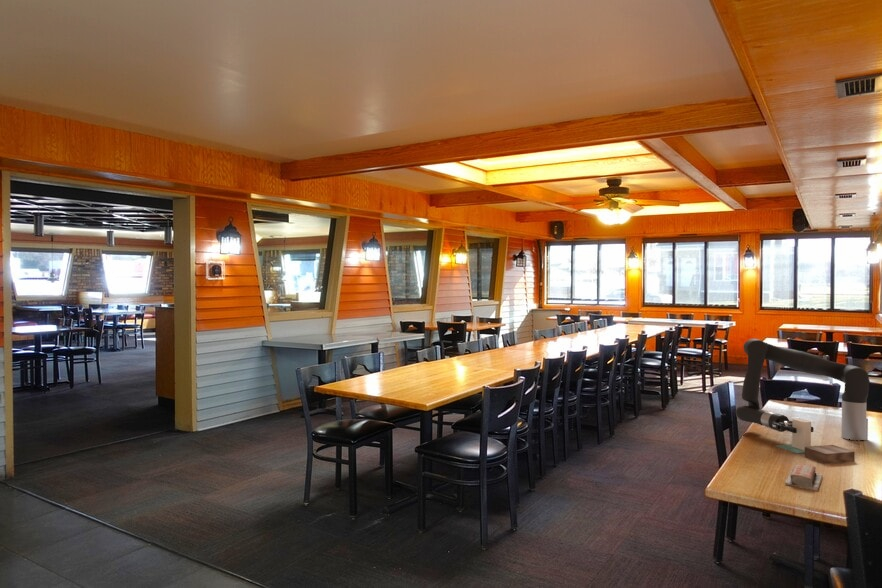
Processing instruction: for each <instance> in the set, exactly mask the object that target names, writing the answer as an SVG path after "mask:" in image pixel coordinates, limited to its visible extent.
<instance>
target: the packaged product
mask: <svg viewBox="0 0 882 588" xmlns="http://www.w3.org/2000/svg"><path fill="white" fill-rule="evenodd" d="M816 471H817V468H816V466H814V465H812V464H796V465H794V466H793V469H791V470H790V472H789V474H788V476H787V477H786V480H785V482H784V485H785V484H786V485H785V486H788V485H791V486H790V487H793V486H796V487H795V488H799V487H801V488H800V489H804V488H806V489H805V490H809V489H810V491H814V492H815V491H816V492H818V490H819V488H820V485H821V483H822V480H823V473H817V472H816Z"/></svg>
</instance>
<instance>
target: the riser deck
mask: <svg viewBox="0 0 882 588" xmlns="http://www.w3.org/2000/svg"><path fill="white" fill-rule="evenodd" d="M855 454H856V452H855V451H854V450H851V449H847V448H844V447H842V446H837V445H834V444H825V445H823V444H822V445H811V446H810V447H805V454H804V457H805V458H808V459H811V460H813V461H816V462H819V463H821V464H824V465H828V464H831V463H832V464H841V463H852V462H853V463H854V462H856V461H855V460H856V458H855V456H856V455H855Z"/></svg>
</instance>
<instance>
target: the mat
mask: <svg viewBox="0 0 882 588" xmlns="http://www.w3.org/2000/svg"><path fill="white" fill-rule="evenodd" d="M776 447H777V448H779V447H780V448H779V449H782V448H783V449H782V450H785V451H787V450H788V451H787V452H790V451H791V452H790V453H794V454H797V455H805V450H801V449H798V448H795V447H792V443H789V444H778V445H776Z"/></svg>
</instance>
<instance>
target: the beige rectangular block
mask: <svg viewBox="0 0 882 588" xmlns="http://www.w3.org/2000/svg"><path fill="white" fill-rule="evenodd" d="M791 421H792V427H794V428H797V433H792V432H791V440H792V441H791V444H792V447H795V448H798V449H801V450H805V447H810V446H812V443H811V442H812V432H811V427H812V421H811V420H807V419H806V420H805V419H802V418H792V420H791Z"/></svg>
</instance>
